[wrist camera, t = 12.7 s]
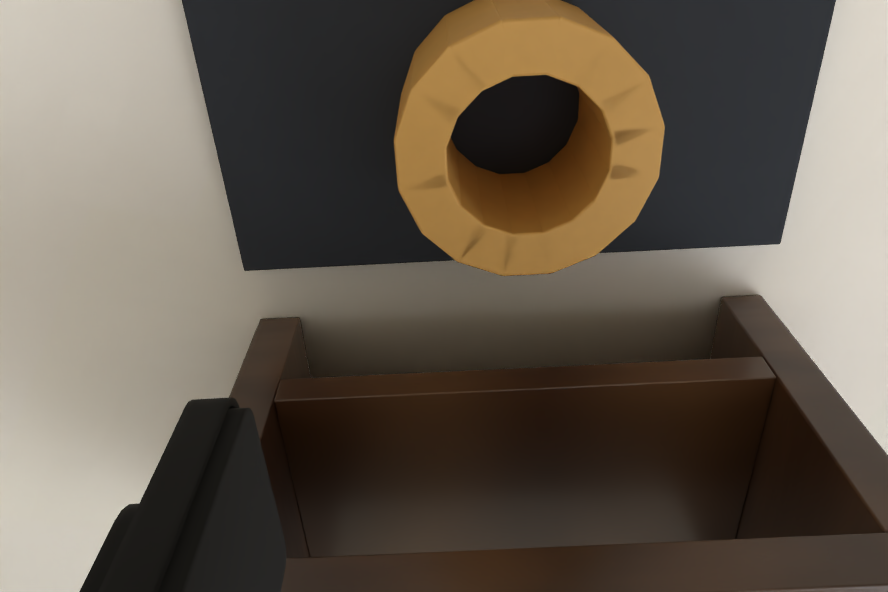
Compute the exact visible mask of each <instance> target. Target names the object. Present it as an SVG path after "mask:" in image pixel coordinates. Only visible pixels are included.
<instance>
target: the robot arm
mask: <svg viewBox="0 0 888 592" xmlns="http://www.w3.org/2000/svg"><path fill="white" fill-rule="evenodd" d="M285 567H286V545H285V540H284V536H283V532H282V528H281V524H280V520H279V515H278V511H277V507H276V503H275V499H274V495H273V491H272V487H271V483H270V479H269V475H268V471H267V467H266V463H265V459H264V455H263V451H262V447H261V443H260V438H259V434H258V430H257V426H256V422H255V418H254V415H253V412H252V410H251V408H240V407H239V404H238V402H237V401H236V399H235V398H214V399H197V400H191V401H189V402H188V403H187V405H186V406H185V408H184V410H183V412H182V415H181V417H180V419H179V421H178V423H177V425H176V427H175V429H174V432H173V434H172V436H171V438H170V440H169V442H168V444H167V446H166V449H165V451H164V453H163V455H162V457H161V459H160V461H159V463H158V466H157V468H156V470H155V472H154V474H153V476H152V478H151V480H150V483H149V485H148V487H147V489H146V491H145V493H144V495H143V497H142V500H141V502H140V504H129V505H128V506H126V507H125V508H124V509H123V510H121V512H120V514H119V515H118V517H117V518H116V520H115V521H114V523H113V525H112V527H111V529H110V531H109V533H108V535H107V537H106V539H105V542H104V544H103V546H102V548H101V550H100V552H99V554H98V556H97V558H96V560H95V562H94V564H93V566H92V568H91V570H90V572H89V574H88V576H87V578H86V580H85V582H84V584H83V586H82V588H81V590H80V592H281V588H282V583H283V578H284V573H285Z"/></svg>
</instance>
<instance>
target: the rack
mask: <svg viewBox="0 0 888 592" xmlns="http://www.w3.org/2000/svg"><path fill="white" fill-rule="evenodd" d="M229 398H235V399H236V401H237V402H238V404H239V407H240V408H251V410H252V412H253V415H254V418H255V422H256V426H257V430H258V434H259V438H260V443H261V447H262V451H263V455H264V459H265V463H266V467H267V471H268V475H269V479H270V483H271V487H272V491H273V495H274V499H275V503H276V507H277V511H278V515H279V520H280V524H281V528H282V532H283V536H284V540H285V545H286V567H285V573H284V578H283V583H282V588H281V592H888V455H887V454H886V452H885V451H884V450H883V449H882V447H881V446H880V445H879V444H878V442H877V441H876V440H875V439H874V437H873V436H872V435H871V433H870V432H869V431H868V430H867V428H866V427H865V426H864V425H863V423H862V422H861V421H860V420H859V418H858V417H857V416H856V415H855V413H854V412H853V411H852V410H851V408H850V407H849V406H848V404H847V403H846V402H845V401H844V399H843V398H842V397H841V396H840V394H839V393H838V392H837V391H836V389H835V388H834V387H833V386H832V384H831V383H830V382H829V381H828V379H827V378H826V377H825V375H824V374H823V373H822V372H821V370H820V369H819V368H818V367H817V365H816V364H815V363H814V362H813V360H812V359H811V358H810V357H809V355H808V354H807V353H806V352H805V350H804V349H803V348H802V347H801V345H800V344H799V343H798V341H797V340H796V339H795V338H794V336H793V335H792V334H791V333H790V331H789V330H788V329H787V328H786V326H785V325H784V324H783V323H782V321H781V320H780V319H779V318H778V316H777V315H776V314H775V312H774V311H773V310H772V309H771V307H770V306H769V305H768V304H767V302H766V301H765V300H764V299H763V297H762V296H760V295H755V296H734V297H722V298H721V303H720V308H719V314H718V319H717V324H716V330H715V335H714V340H713V346H712V351H711V356H710V359H700V360H679V361H658V362H637V363H616V364H595V365H573V366H552V367H531V368H510V369H489V370H468V371H447V372H425V373H404V374H383V375H362V376H341V377H320V378H311V375H310V370H309V365H308V360H307V354H306V349H305V344H304V339H303V334H302V328H301V323H300V318H299V317H296V318H275V319H261V320H260V322H259V324H258V327H257V329H256V331H255V334H254V336H253V339H252V341H251V344H250V346H249V349H248V351H247V354H246V356H245V359H244V361H243V364H242V366H241V369H240V371H239V374H238V376H237V379H236V381H235V384H234V386H233V389H232V391H231V394H230V396H229Z"/></svg>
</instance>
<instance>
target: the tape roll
mask: <svg viewBox="0 0 888 592" xmlns="http://www.w3.org/2000/svg"><path fill="white" fill-rule="evenodd" d="M533 75H548V76H551V77H553V78H556V79H559V80H562V81H564V82H567V83H570V84H572V85H575V86H577V88H578V91H579V110H578V121H577V123H576V125H575V127H574V129H573V131H572V134H571V136H570V138H569V140H568V142H567V144H566V146H565V147H564V148H563V149H562V150H560V151H559V152H558V153H557V154H556V155H555V156H554V157H553V158H552V159H551V160H550V161H549V162H548V163H546V164H543V165H541V166H539V167H537V168H534V169H532V170H530V171H528V172H525V173H512V174H497V173H494V172H491V171H489V170H486V169H483V168H480V167H477V166H475V165H474V164H473V163H472V162H470V161H469V160H468V159H467V158H466V157H465V156H464V155H462V154H461V153H460V152H459V151H458V150H457V149H456V147H455V145H454V143H453V141H452V139H451V134H452V132H453V129H454V126H455V124H456V121H457V118H458V116H459V115H460V114H461V113H462V112H463V111H464V110H465V109H466V108H467V107H468V106H469V104H470V103H471V102H472V101H473V100H474V99H475V98H476V97H477V96H478V95H479V94H480V92H481V91H483V90H485V89H488V88H490V87H492V86H494V85H496V84H498V83H500V82H502V81H504V80H506V79H509V78H511V77H515V76H533ZM664 130H665V126H664V122H663V119H662V115H661V112H660V109H659V106H658V102H657V99H656V96H655V93H654V90H653V86H652V83H651V80H650V77H649V75H648V74H647V73H646V72H645V71H644V70H643V68H642V67H641V66H640V65H639V64H638V63H637V62H636V61H635V60H634V59H633V58H632V57H631V56H630V54H629V53H628V52H627V51H626V50H625V49H624V48H623V47H622V46H621V45H620V44H619V43H618V42H617V40H616V39H615V38H614V37H613V36H612V35H610V34H609V33H608V32H607V31H606V30H605V29H603V28H602V27H601V26H600V25H599V24H597V23H596V22H595V21H594V20H593V19H592V18H590V17H589V16H588V15H587V14H586V13H585V12H583V11H582V10H581V9H580V8H578V7H577V6H574V5H572V4H569V3H567V2H564V1H561V0H474V1H472V2H470V3H468V4H466V5H464V6H462V7H460V8H458V9H456V10H454V11H452V12H450V13H448V14H447V15H445V16H444V17H443V18H442V19H441V20H440V22H439V23H438V24H437V25H436V26H435V28H434V29H433V30H432V31H431V32H430V34H429V35H428V36H427V37H426V38H425V39H424V41H423V42H422V43H421V44H420V45H419V47H418V48H417V49H416V50H415V52H414V55H413V58H412V61H411V65H410V68H409V71H408V74H407V77H406V80H405V83H404V86H403V90H402V93H401V98H400V104H399V110H398V117H397V123H396V129H395V135H394V151H395V162H396V173H397V184H398V190H399V193H400V194H401V196H402V198H403V200H404V202H405V204H406V205H407V207H408V209H409V211H410V213H411V215H412V216H413V218H414V220H415V222H416V224H417V226H418V227H419V229H420V231H421V233H422V234H423V235H424V236H426V237H427V238H428V239H429V240H431V241H432V242H433V243H434V244H436V245H437V246H438V247H439V248H441V249H442V250H443V251H444V252H446V253H447V254H448V255H449V256H451V257H452V258H453V259H454V260H456V261H457V262H459V263H463V264H466V265H469V266H472V267H475V268H479V269H482V270H485V271H488V272H492V273H495V274H498V275H501V276H512V275H532V274H550V273H554V272H556V271H559V270H561V269H563V268H566V267H568V266H571V265H573V264H576V263H578V262H581V261H583V260H586V259H588V258H591V257H593V256H595V255H596V254H598V253H599V252H600V251H601V250H603V249H604V248H605V247H606V246H607V245H608V244H609V243H611V242H612V241H613V240H614V239H615V238H616V237H617V236H619V235H620V234H621V233H622V232H623V231H624V230H625V229H627V228H628V227H629V226H630V225H631V224H632V223H634V222H635V220H636V219H637V217H638V215H639V213H640V211H641V209H642V208H643V206H644V204H645V202H646V200H647V198H648V197H649V195H650V193H651V191H652V189H653V187H654V186H655V184H656V182H657V180H658V178H659V172H660V164H661V155H662V147H663V139H664Z"/></svg>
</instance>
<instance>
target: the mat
mask: <svg viewBox="0 0 888 592" xmlns="http://www.w3.org/2000/svg"><path fill="white" fill-rule="evenodd" d="M472 1H474V0H182V3H183V8H184V12H185V16H186V20H187V25H188V29H189V33H190V38H191V42H192V46H193V51H194V55H195V59H196V64H197V68H198V72H199V77H200V81H201V85H202V90H203V94H204V98H205V103H206V107H207V111H208V116H209V120H210V124H211V129H212V133H213V137H214V142H215V146H216V150H217V155H218V159H219V163H220V168H221V172H222V176H223V181H224V185H225V189H226V194H227V198H228V202H229V207H230V211H231V215H232V219H233V224H234V228H235V232H236V237H237V241H238V245H239V250H240V254H241V258H242V263H243V267H244V270H245V271H249V270H269V269H289V268H309V267H329V266H349V265H369V264H389V263H409V262H429V261H450V260H454V259H453V258H452V257H451V256H449V255H448V254H447V253H446V252H444V251H443V250H442V249H441V248H439V247H438V246H437V245H436V244H434V243H433V242H432V241H431V240H429V239H428V238H427V237H426V236H424V235H423V234H422V233H421V231H420V229H419V227H418V226H417V224H416V222H415V220H414V218H413V216H412V215H411V213H410V211H409V209H408V207H407V205H406V204H405V202H404V200H403V198H402V196H401V194H400V193H399V190H398V184H397V173H396V162H395V151H394V135H395V129H396V123H397V117H398V110H399V104H400V98H401V93H402V90H403V86H404V83H405V80H406V77H407V74H408V71H409V68H410V65H411V61H412V58H413V55H414V52H415V50H416V49H417V48H418V47H419V45H420V44H421V43H422V42H423V41H424V39H425V38H426V37H427V36H428V35H429V34H430V32H431V31H432V30H433V29H434V28H435V26H436V25H437V24H438V23H439V22H440V20H441V19H442V18H443V17H444V16H445V15H447V14H448V13H450V12H452V11H454V10H456V9H458V8H460V7H462V6H464V5H466V4H468V3H470V2H472ZM561 1H564V2H567V3H569V4H572V5H574V6H577V7H578V8H580V9H581V10H582V11H583V12H585V13H586V14H587V15H588V16H589V17H590V18H592V19H593V20H594V21H595V22H596V23H597V24H599V25H600V26H601V27H602V28H603V29H605V30H606V31H607V32H608V33H609V34H610V35H612V36H613V37H614V38H615V39H616V40H617V42H618V43H619V44H620V45H621V46H622V47H623V48H624V49H625V50H626V51H627V52H628V53H629V54H630V56H631V57H632V58H633V59H634V60H635V61H636V62H637V63H638V64H639V65H640V66H641V67H642V68H643V70H644V71H645V72H646V73H647V74H648V75H649V77H650V80H651V83H652V86H653V90H654V93H655V96H656V99H657V102H658V106H659V109H660V112H661V115H662V119H663V122H664V126H665V130H664V139H663V147H662V155H661V164H660V172H659V178H658V180H657V182H656V184H655V186H654V187H653V189H652V191H651V193H650V195H649V197H648V198H647V200H646V202H645V204H644V206H643V208H642V209H641V211H640V213H639V215H638V217H637V219H636V220H635V222H634V223H632V224H631V225H630V226H629V227H628V228H627V229H625V230H624V231H623V232H622V233H621V234H620V235H619V236H617V237H616V238H615V239H614V240H613V241H612V242H611V243H609V244H608V245H607V246H606V247H605V248H604V249H603V250H601V251H600V252H599V253H610V252H630V251H650V250H670V249H690V248H710V247H730V246H750V245H770V244H780V242H781V238H782V233H783V229H784V225H785V220H786V216H787V212H788V207H789V203H790V198H791V194H792V190H793V185H794V181H795V177H796V172H797V168H798V163H799V159H800V155H801V150H802V146H803V142H804V137H805V133H806V128H807V124H808V120H809V115H810V111H811V107H812V102H813V98H814V94H815V89H816V85H817V80H818V76H819V72H820V67H821V63H822V59H823V54H824V50H825V45H826V41H827V37H828V32H829V28H830V24H831V19H832V15H833V10H834V6H835V2H836V0H561ZM578 110H579V91H578V88H577V86H575V85H572V84H570V83H567V82H564V81H562V80H559V79H556V78H553V77H551V76H548V75H533V76H515V77H511V78H509V79H506V80H504V81H502V82H500V83H498V84H496V85H494V86H492V87H490V88H488V89H485V90H483V91H481V92H480V94H479V95H478V96H477V97H476V98H475V99H474V100H473V101H472V102H471V103H470V104H469V106H468V107H467V108H466V109H465V110H464V111H463V112H462V113H461V114H460V115H459V116H458V118H457V121H456V124H455V126H454V129H453V132H452V134H451V139H452V141H453V143H454V145H455V147H456V149H457V150H458V151H459V152H460V153H461V154H462V155H464V156H465V157H466V158H467V159H468V160H469V161H470V162H472V163H473V164H474V165H475V166H477V167H480V168H483V169H486V170H489V171H491V172H494V173H497V174H512V173H525V172H528V171H530V170H532V169H534V168H537V167H539V166H541V165H543V164H546V163H548V162H549V161H550V160H551V159H552V158H553V157H554V156H555V155H556V154H557V153H558V152H559V151H560V150H562V149H563V148H564V147H565V146H566V144H567V142H568V140H569V138H570V136H571V134H572V131H573V129H574V127H575V125H576V123H577V121H578Z"/></svg>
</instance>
